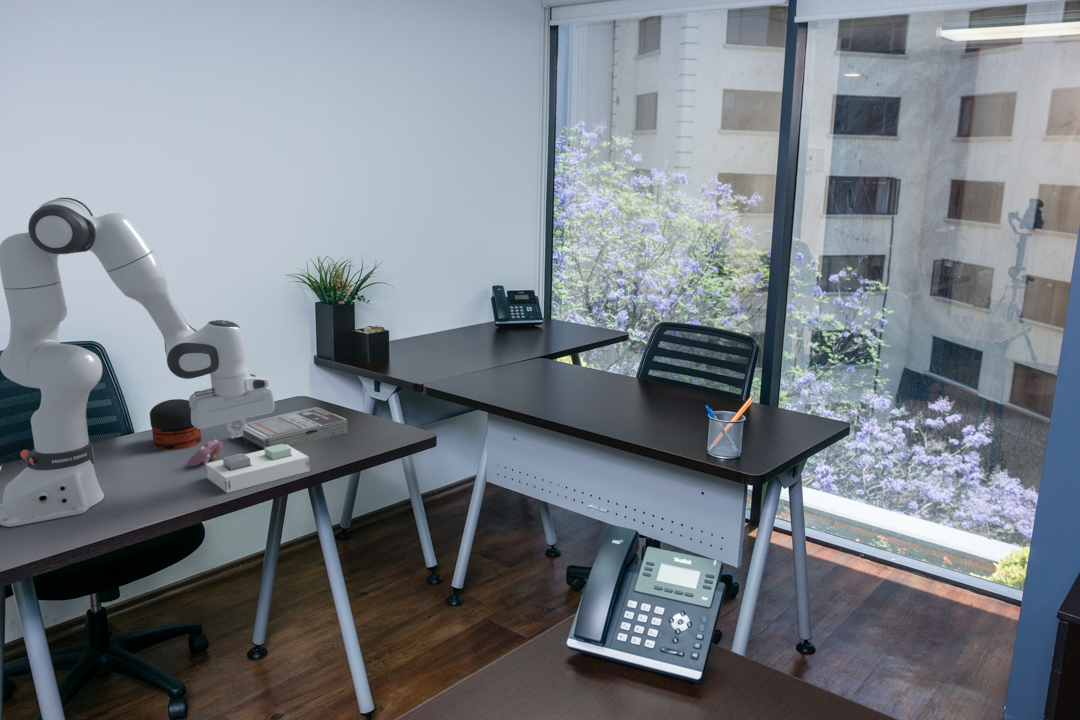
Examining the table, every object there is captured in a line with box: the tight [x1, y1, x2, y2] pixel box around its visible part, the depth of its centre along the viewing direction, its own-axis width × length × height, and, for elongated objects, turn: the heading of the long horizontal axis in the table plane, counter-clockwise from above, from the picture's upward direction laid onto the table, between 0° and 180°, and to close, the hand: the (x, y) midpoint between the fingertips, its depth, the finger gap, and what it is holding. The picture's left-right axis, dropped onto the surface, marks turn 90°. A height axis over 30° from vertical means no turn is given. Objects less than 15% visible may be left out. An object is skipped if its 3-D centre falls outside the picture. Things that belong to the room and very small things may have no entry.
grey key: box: [222, 452, 251, 471], centre depth 206 cm, size 5×5×3 cm
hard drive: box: [235, 406, 349, 451], centre depth 241 cm, size 18×27×4 cm
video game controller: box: [187, 439, 225, 468], centre depth 219 cm, size 10×5×7 cm, turn 168°
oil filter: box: [149, 398, 202, 451], centre depth 233 cm, size 13×12×13 cm
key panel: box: [205, 445, 311, 494], centre depth 210 cm, size 22×13×4 cm, turn 132°
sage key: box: [264, 444, 291, 461], centre depth 213 cm, size 5×5×3 cm
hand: (236, 436), depth 204 cm, fingers closed
